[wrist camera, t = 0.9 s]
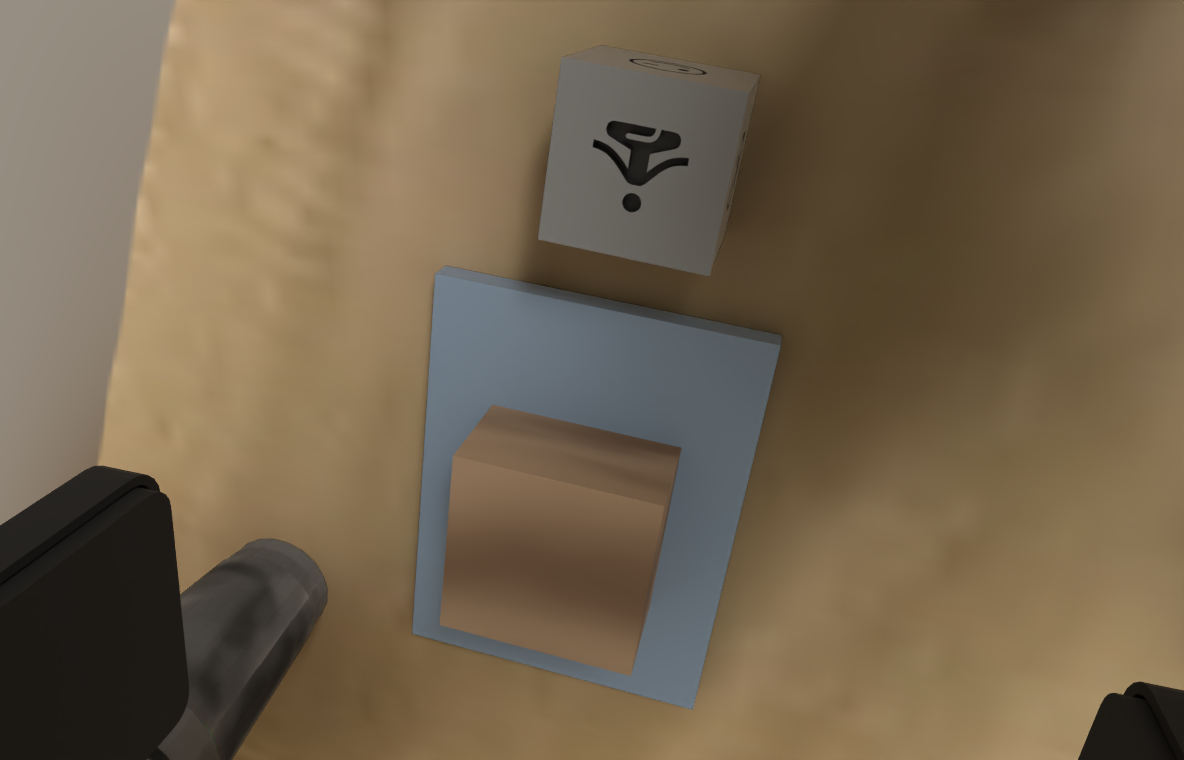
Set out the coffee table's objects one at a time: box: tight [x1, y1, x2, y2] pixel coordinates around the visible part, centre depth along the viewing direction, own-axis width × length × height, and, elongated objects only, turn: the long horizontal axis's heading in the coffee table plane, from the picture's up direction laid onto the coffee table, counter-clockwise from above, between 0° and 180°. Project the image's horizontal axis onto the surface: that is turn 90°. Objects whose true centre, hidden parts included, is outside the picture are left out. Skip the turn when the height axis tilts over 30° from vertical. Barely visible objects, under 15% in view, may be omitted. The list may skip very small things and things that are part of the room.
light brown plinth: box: [440, 405, 682, 676], centre depth 32 cm, size 7×7×4 cm
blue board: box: [412, 266, 782, 710], centre depth 35 cm, size 16×12×1 cm
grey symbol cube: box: [538, 45, 760, 276], centre depth 27 cm, size 5×5×5 cm
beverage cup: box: [147, 539, 328, 760], centre depth 31 cm, size 7×7×20 cm
